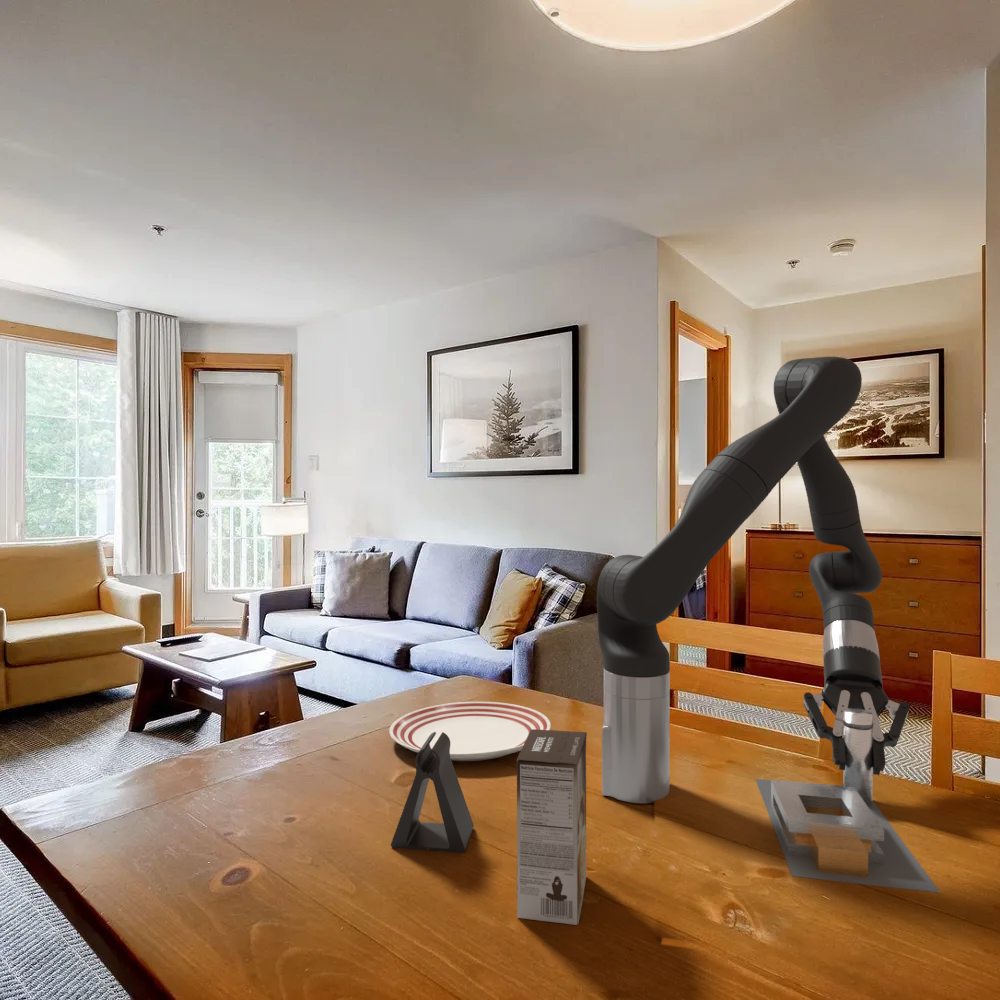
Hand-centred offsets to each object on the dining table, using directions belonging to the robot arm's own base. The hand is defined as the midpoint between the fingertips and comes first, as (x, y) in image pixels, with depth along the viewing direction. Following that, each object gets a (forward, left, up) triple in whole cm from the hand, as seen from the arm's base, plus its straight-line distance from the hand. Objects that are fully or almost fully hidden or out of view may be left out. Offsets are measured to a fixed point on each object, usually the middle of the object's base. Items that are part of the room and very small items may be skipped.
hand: (859, 769), depth 91 cm
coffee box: (-37, -28, -6) cm, 47 cm away
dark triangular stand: (-53, -19, -6) cm, 57 cm away
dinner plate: (-57, +14, -6) cm, 59 cm away
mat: (-5, -7, -6) cm, 10 cm away
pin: (0, +2, -5) cm, 5 cm away
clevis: (-7, -10, -5) cm, 13 cm away
